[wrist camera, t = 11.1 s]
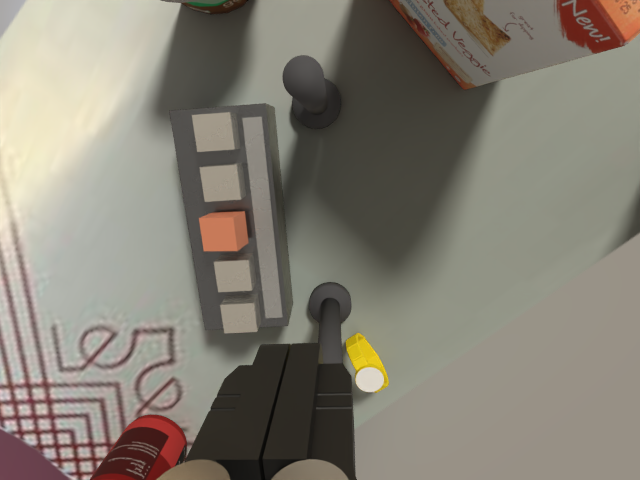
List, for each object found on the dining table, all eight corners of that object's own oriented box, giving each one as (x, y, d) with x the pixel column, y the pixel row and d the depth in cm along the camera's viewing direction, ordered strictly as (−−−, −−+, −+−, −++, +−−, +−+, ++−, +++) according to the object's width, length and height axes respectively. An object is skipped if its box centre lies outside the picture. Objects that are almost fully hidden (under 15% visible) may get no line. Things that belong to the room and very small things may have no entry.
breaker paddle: (244, 211, 33) (233, 217, 31) (248, 242, 34) (237, 251, 32) (212, 212, 34) (198, 218, 31) (217, 243, 34) (203, 251, 32)
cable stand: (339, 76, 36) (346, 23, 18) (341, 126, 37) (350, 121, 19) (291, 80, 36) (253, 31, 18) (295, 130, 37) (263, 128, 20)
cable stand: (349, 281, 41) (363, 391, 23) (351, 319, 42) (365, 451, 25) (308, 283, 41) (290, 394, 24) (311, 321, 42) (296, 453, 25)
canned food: (155, 475, 48) (105, 571, 38) (112, 431, 47) (48, 518, 36) (202, 448, 47) (165, 540, 37) (159, 401, 46) (107, 483, 35)
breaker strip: (274, 107, 36) (261, 101, 30) (293, 303, 42) (285, 336, 35) (190, 113, 37) (158, 109, 30) (219, 307, 42) (198, 340, 35)
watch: (340, 334, 43) (338, 362, 37) (361, 321, 42) (363, 347, 37) (370, 375, 44) (373, 409, 38) (391, 363, 43) (398, 395, 37)
